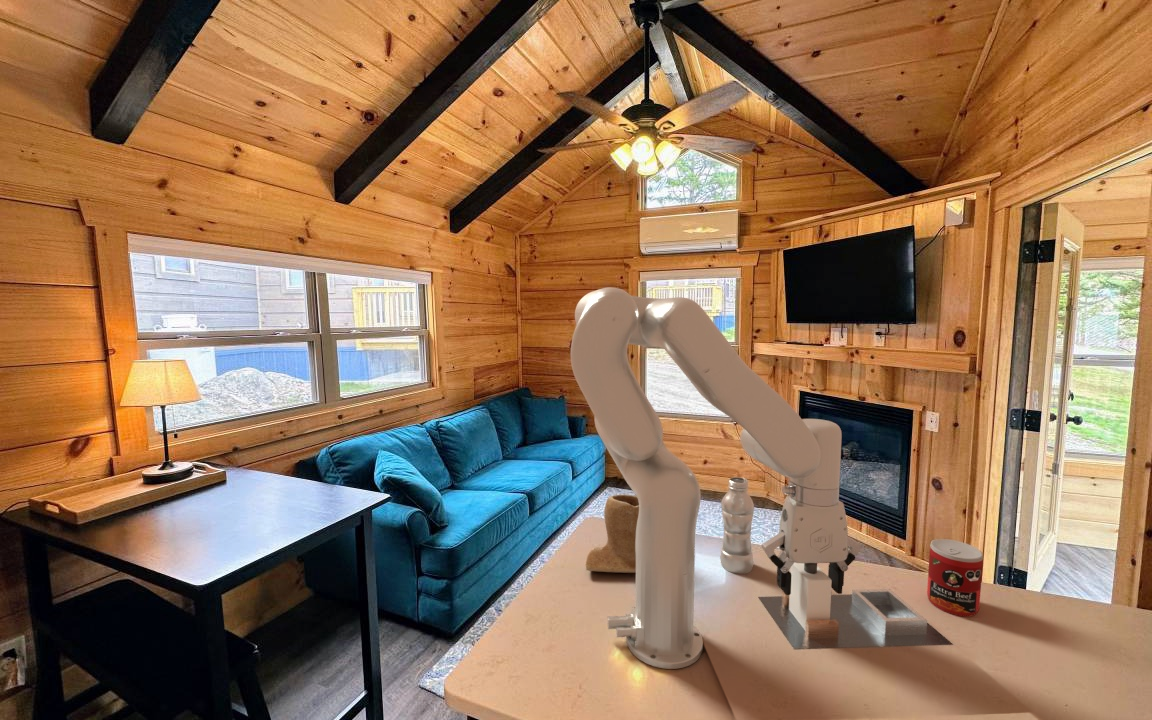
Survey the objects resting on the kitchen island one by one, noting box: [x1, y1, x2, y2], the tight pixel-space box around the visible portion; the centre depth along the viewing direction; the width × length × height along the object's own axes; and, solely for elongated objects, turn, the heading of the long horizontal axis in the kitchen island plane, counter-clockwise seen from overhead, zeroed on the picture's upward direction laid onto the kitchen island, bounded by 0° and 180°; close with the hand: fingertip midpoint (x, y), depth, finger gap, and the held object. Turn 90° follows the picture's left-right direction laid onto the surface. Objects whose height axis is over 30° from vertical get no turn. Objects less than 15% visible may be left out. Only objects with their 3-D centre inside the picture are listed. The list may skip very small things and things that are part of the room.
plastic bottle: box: [719, 476, 755, 575], centre depth 99 cm, size 6×7×20 cm
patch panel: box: [757, 588, 954, 650], centre depth 83 cm, size 26×14×4 cm, turn 92°
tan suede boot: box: [585, 494, 639, 574], centre depth 103 cm, size 15×12×15 cm
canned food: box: [926, 538, 984, 617], centre depth 88 cm, size 8×8×11 cm
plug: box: [789, 562, 832, 630], centre depth 82 cm, size 4×6×11 cm, turn 2°
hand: (809, 589), depth 82 cm, fingers open, 8 cm apart
